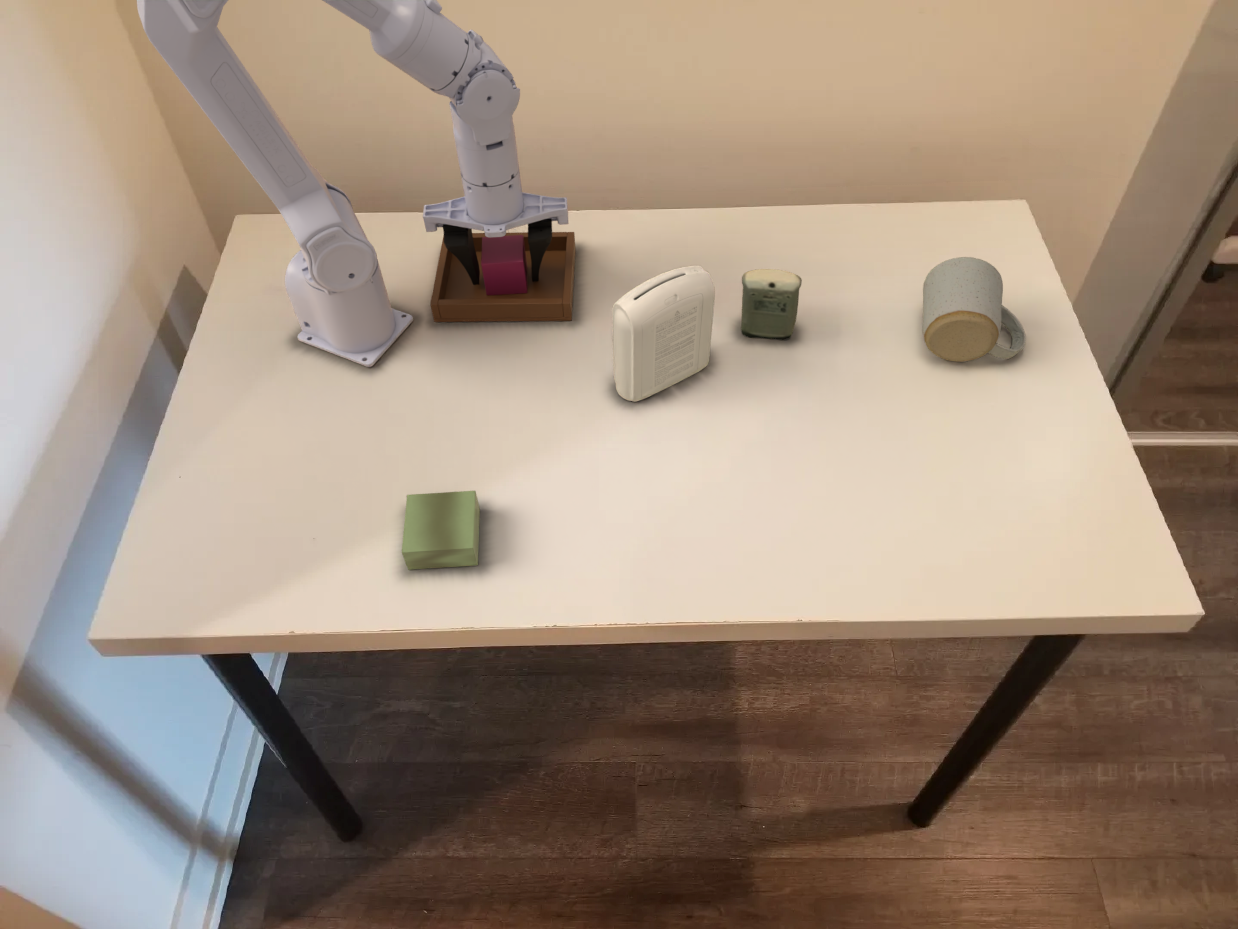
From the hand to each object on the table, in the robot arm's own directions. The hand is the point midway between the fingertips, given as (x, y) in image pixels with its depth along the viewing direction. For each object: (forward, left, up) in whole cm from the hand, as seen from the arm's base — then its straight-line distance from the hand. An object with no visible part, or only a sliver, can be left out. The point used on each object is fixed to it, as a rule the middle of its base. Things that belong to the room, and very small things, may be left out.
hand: (505, 276), depth 101 cm
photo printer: (+21, -5, -1) cm, 22 cm away
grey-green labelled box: (+28, +5, -1) cm, 29 cm away
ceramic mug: (+47, +13, -1) cm, 49 cm away
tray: (0, 0, -1) cm, 1 cm away
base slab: (+12, -31, -1) cm, 33 cm away
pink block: (0, 0, -1) cm, 1 cm away
